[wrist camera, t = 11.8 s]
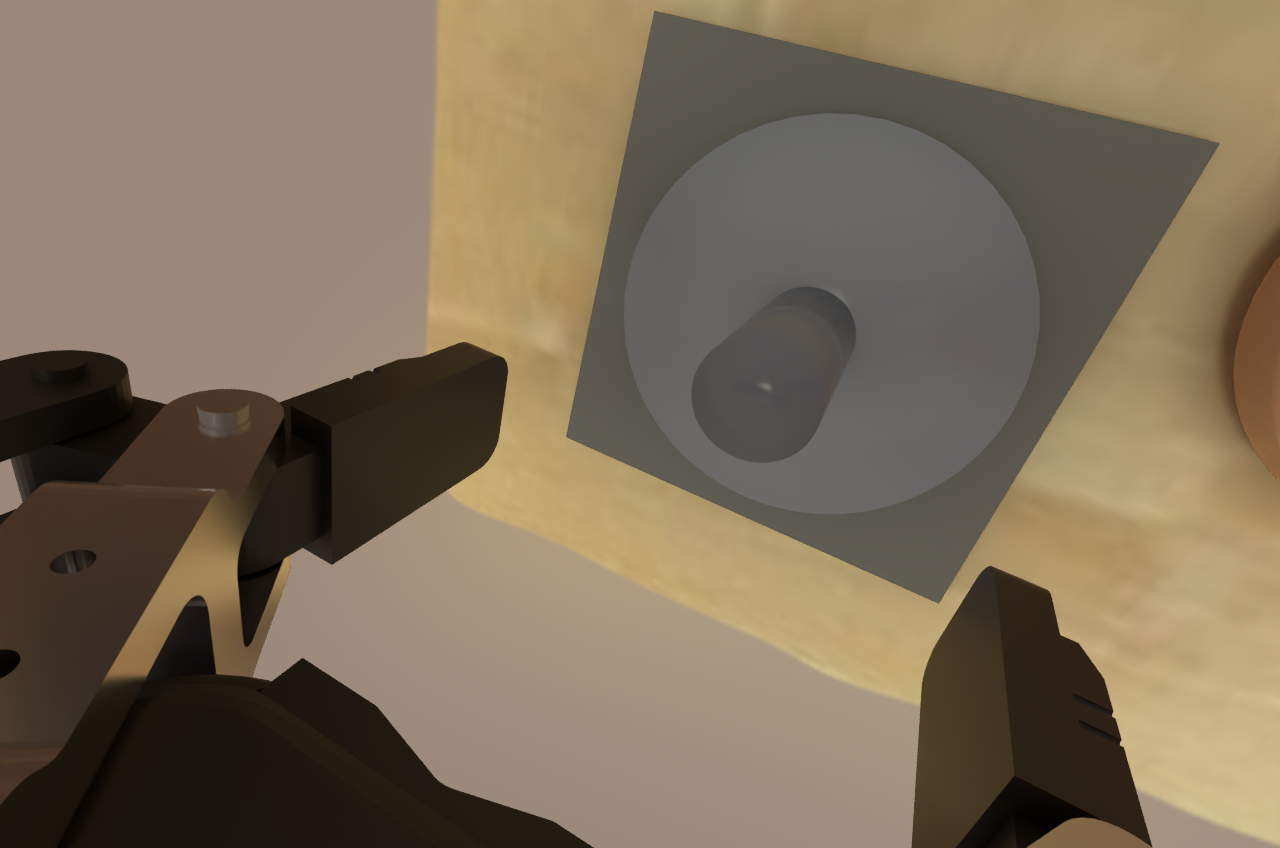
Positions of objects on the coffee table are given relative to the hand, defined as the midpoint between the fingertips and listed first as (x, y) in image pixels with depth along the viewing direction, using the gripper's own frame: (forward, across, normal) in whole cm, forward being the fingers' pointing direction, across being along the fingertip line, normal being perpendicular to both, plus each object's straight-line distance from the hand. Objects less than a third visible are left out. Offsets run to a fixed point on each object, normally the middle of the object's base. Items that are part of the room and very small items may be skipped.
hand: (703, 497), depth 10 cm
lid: (+11, 0, 0) cm, 11 cm away
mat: (+11, 0, 0) cm, 11 cm away
